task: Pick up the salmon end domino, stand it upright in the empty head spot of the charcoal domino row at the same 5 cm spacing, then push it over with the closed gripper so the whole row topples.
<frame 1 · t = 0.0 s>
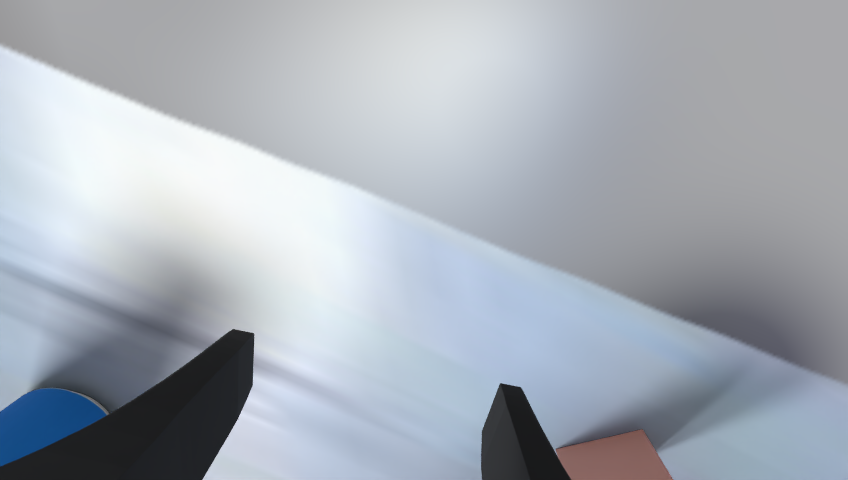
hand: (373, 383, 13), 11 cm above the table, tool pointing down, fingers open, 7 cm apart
beverage can: (78, 423, 27), on the table
salmon end domino: (602, 452, 26), on the table
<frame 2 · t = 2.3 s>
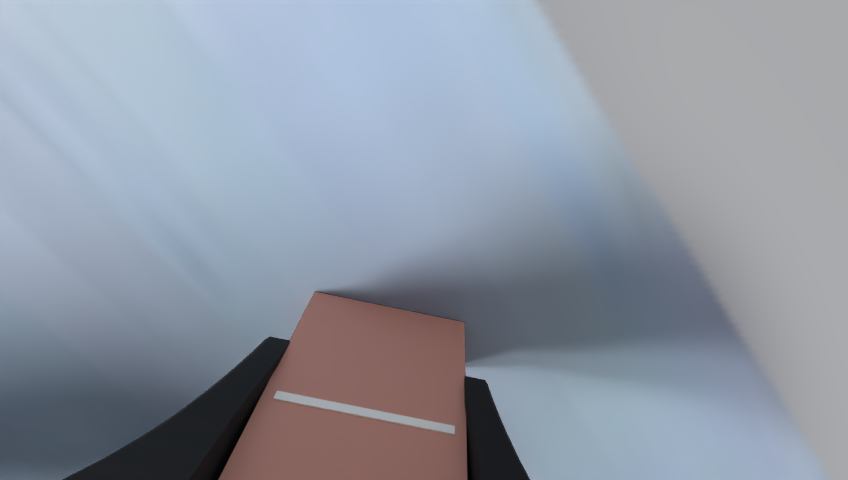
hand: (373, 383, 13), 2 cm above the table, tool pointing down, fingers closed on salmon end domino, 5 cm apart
salmon end domino: (385, 330, 15), on the table, touching gripper
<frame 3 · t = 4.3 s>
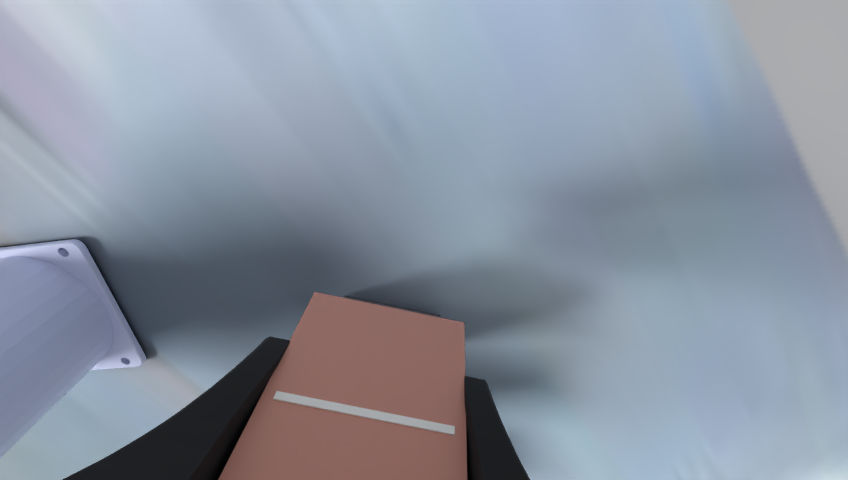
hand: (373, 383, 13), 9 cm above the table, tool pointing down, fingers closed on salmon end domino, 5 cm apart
salmon end domino: (385, 330, 15), point 7 cm above the table, touching gripper
when the fingers open (3 cm above the table, at t = 6.2 s): salmon end domino drops 1 cm, on the table.
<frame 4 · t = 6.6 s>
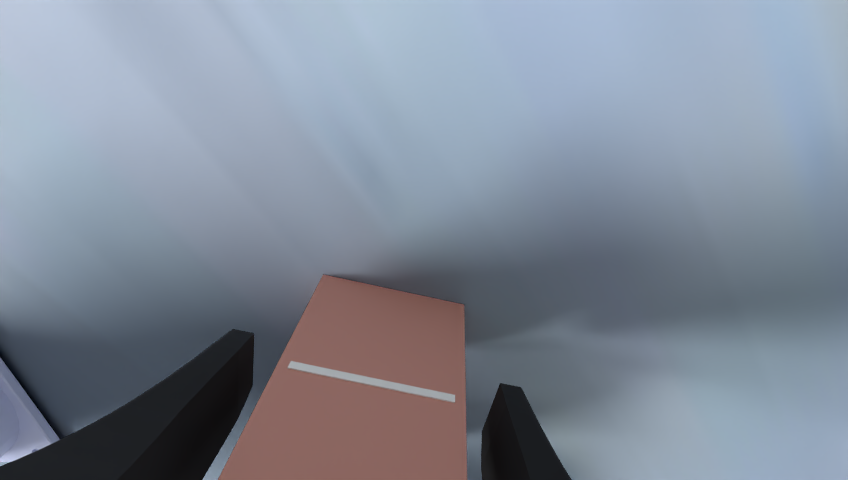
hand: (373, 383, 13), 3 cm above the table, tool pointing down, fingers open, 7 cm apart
salmon end domino: (389, 312, 16), on the table
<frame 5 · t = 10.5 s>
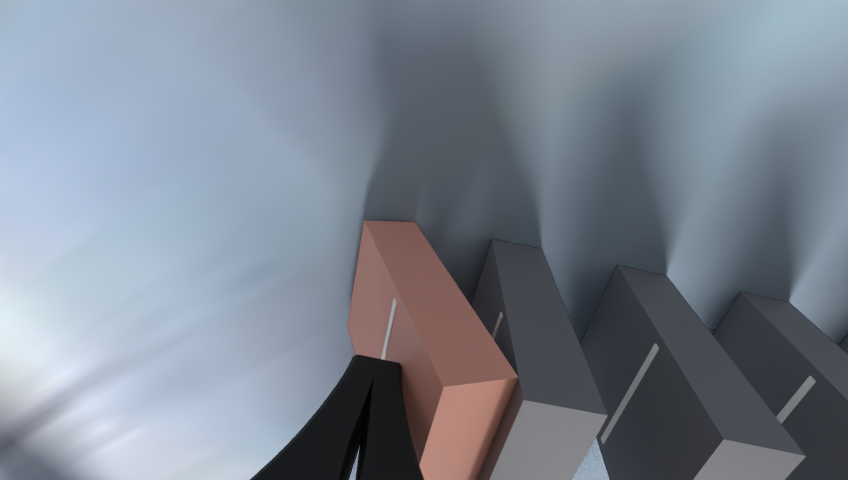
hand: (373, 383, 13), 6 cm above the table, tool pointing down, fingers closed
domino 4: (732, 345, 19), on the table
domino 2: (499, 296, 19), on the table, touching salmon end domino
salmon end domino: (379, 276, 18), on the table, tilted 24°, touching domino 2, gripper
domino 3: (616, 320, 19), on the table
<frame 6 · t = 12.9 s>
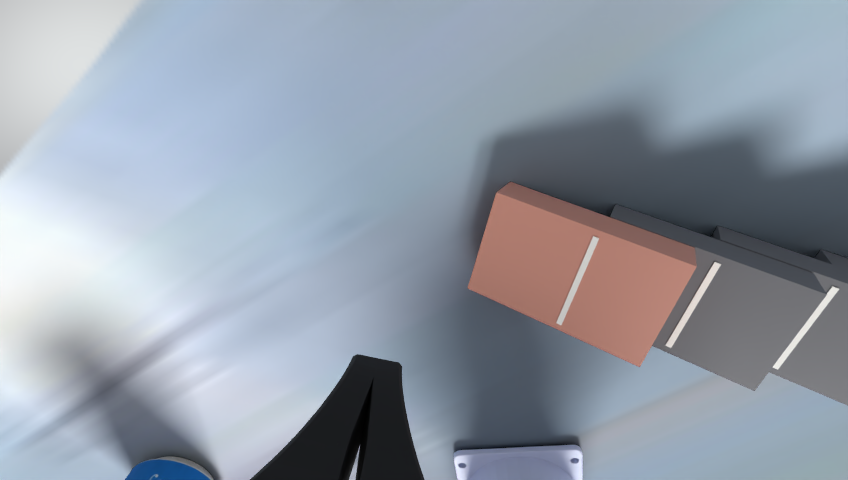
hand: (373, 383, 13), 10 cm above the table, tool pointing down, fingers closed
beverage can: (182, 476, 33), on the table
domino 4: (794, 301, 22), point 1 cm above the table, tilted 66°, touching domino 3, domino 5
domino 2: (592, 257, 21), point 1 cm above the table, tilted 66°, touching domino 3, salmon end domino
salmon end domino: (488, 235, 21), point 1 cm above the table, tilted 66°, touching domino 2
domino 3: (692, 278, 22), point 1 cm above the table, tilted 66°, touching domino 2, domino 4
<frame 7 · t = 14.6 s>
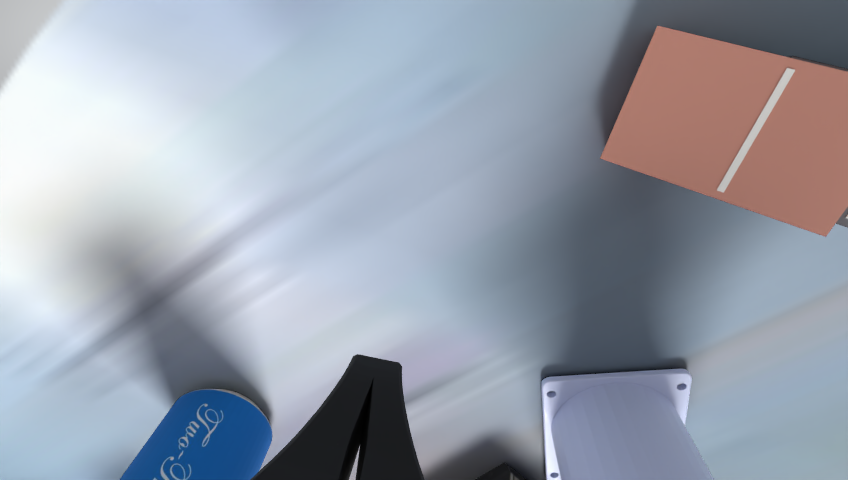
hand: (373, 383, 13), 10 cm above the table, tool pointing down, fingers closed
beverage can: (229, 414, 30), on the table
salmon end domino: (628, 94, 18), point 1 cm above the table, tilted 66°, touching domino 2
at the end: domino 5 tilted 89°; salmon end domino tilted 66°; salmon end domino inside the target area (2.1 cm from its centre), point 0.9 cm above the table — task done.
